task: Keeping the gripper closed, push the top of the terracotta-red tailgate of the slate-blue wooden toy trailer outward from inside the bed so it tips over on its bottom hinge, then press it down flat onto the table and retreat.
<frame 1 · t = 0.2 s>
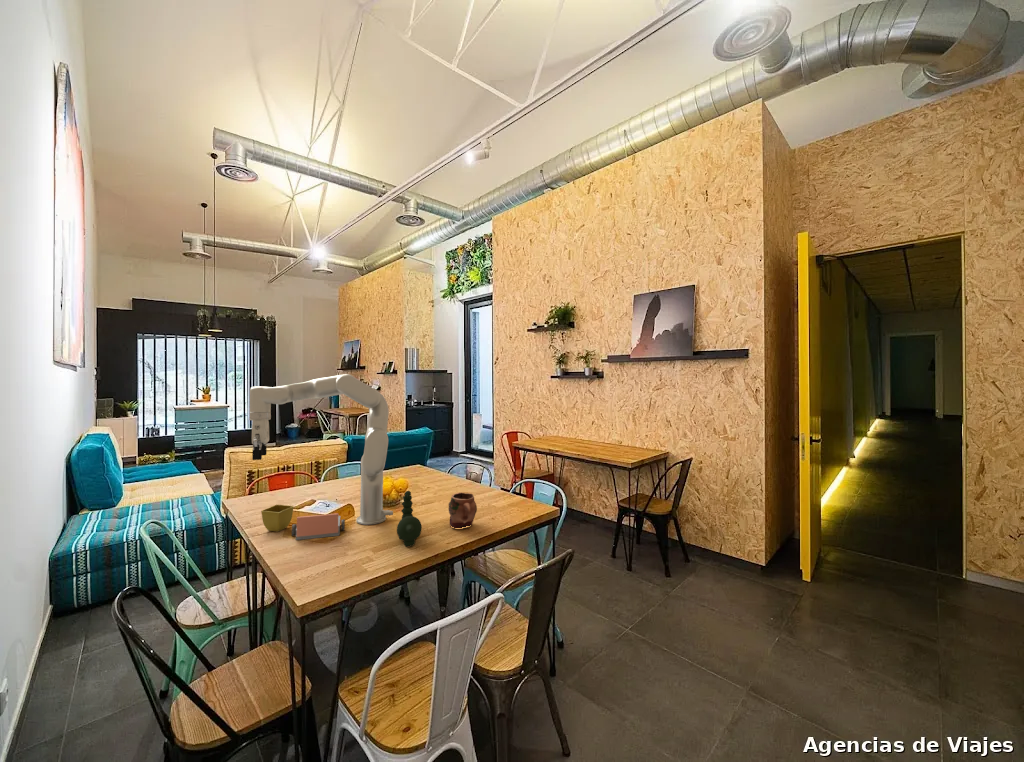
hand: (259, 457, 175), 31 cm above the table, fingers open, 9 cm apart
trailer: (318, 532, 175), on the table
flower pot: (277, 530, 178), on the table
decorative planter: (462, 527, 185), on the table
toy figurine: (408, 540, 170), on the table
tailgate: (317, 525, 169), point 5 cm above the table, hinge at 0.0°
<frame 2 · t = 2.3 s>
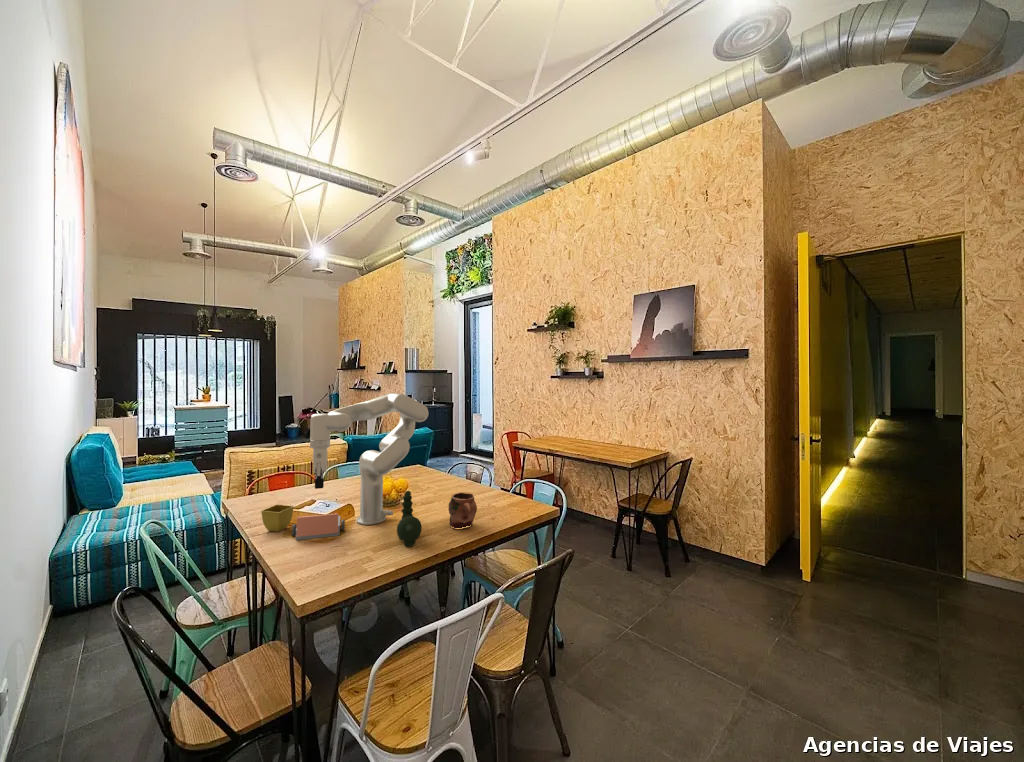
hand: (319, 487, 174), 19 cm above the table, fingers closed
nothing on the table moved.
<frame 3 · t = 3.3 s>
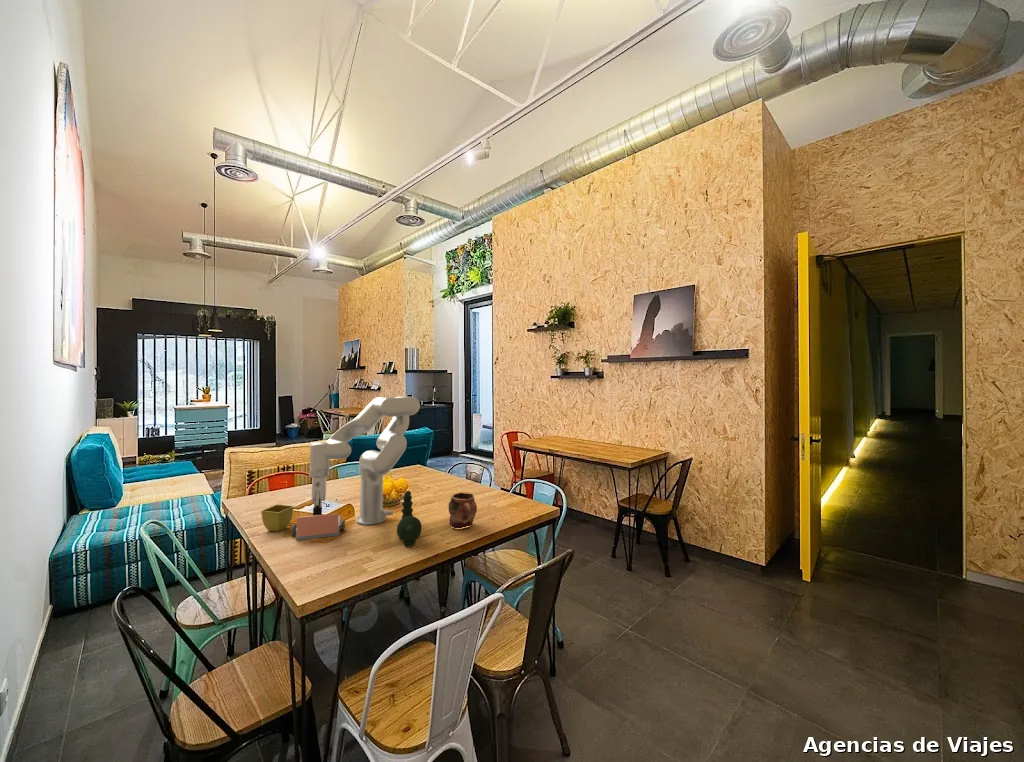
hand: (317, 516, 174), 7 cm above the table, fingers closed
nothing on the table moved.
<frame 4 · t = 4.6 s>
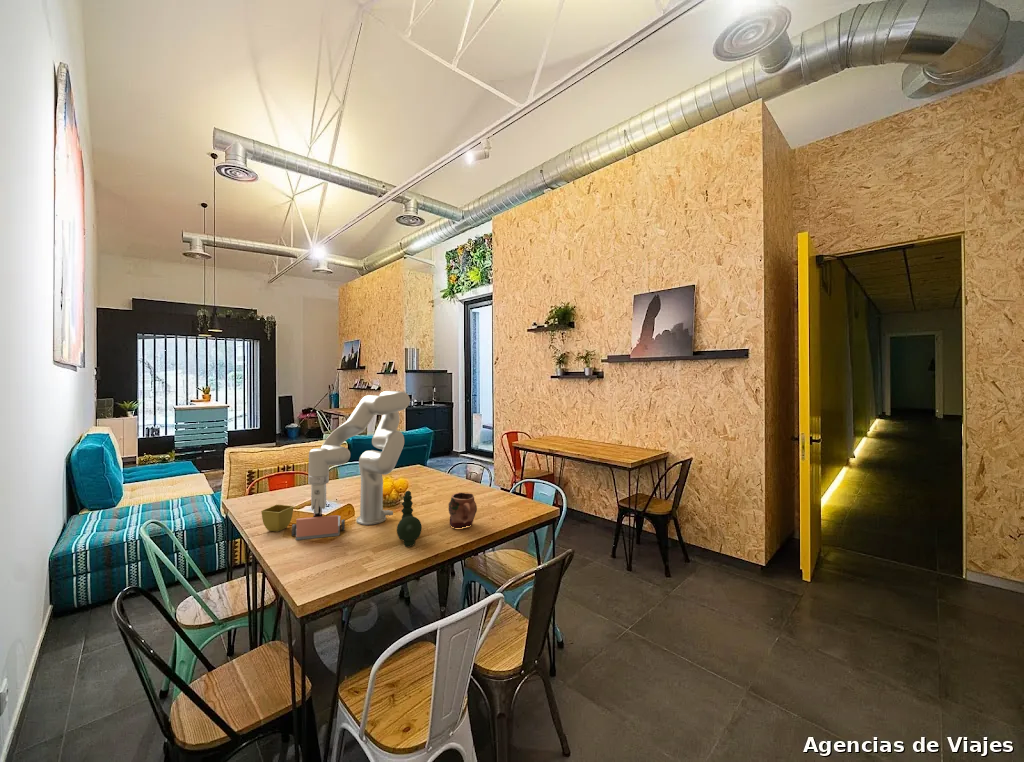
hand: (317, 524, 170), 5 cm above the table, fingers closed
tailgate: (317, 526, 168), point 5 cm above the table, hinge at 13.6°, touching gripper
everything else where it was.
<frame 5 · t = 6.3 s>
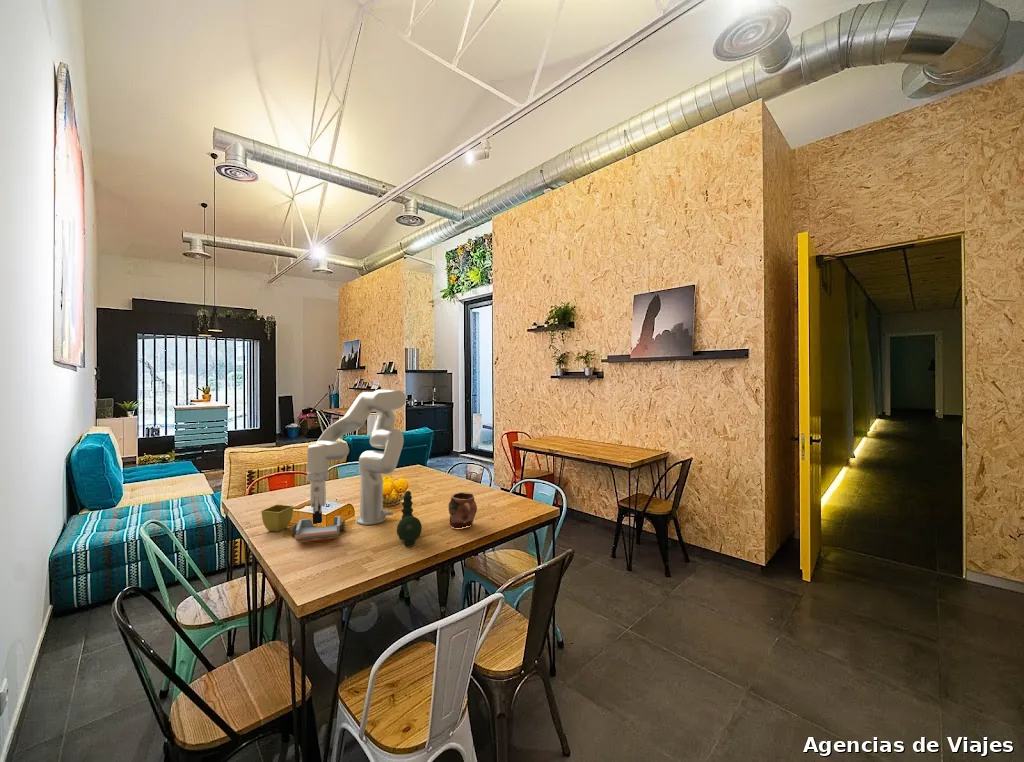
hand: (317, 522, 165), 8 cm above the table, fingers closed
tailgate: (317, 534, 166), point 3 cm above the table, hinge at 68.9°
everything else where it was.
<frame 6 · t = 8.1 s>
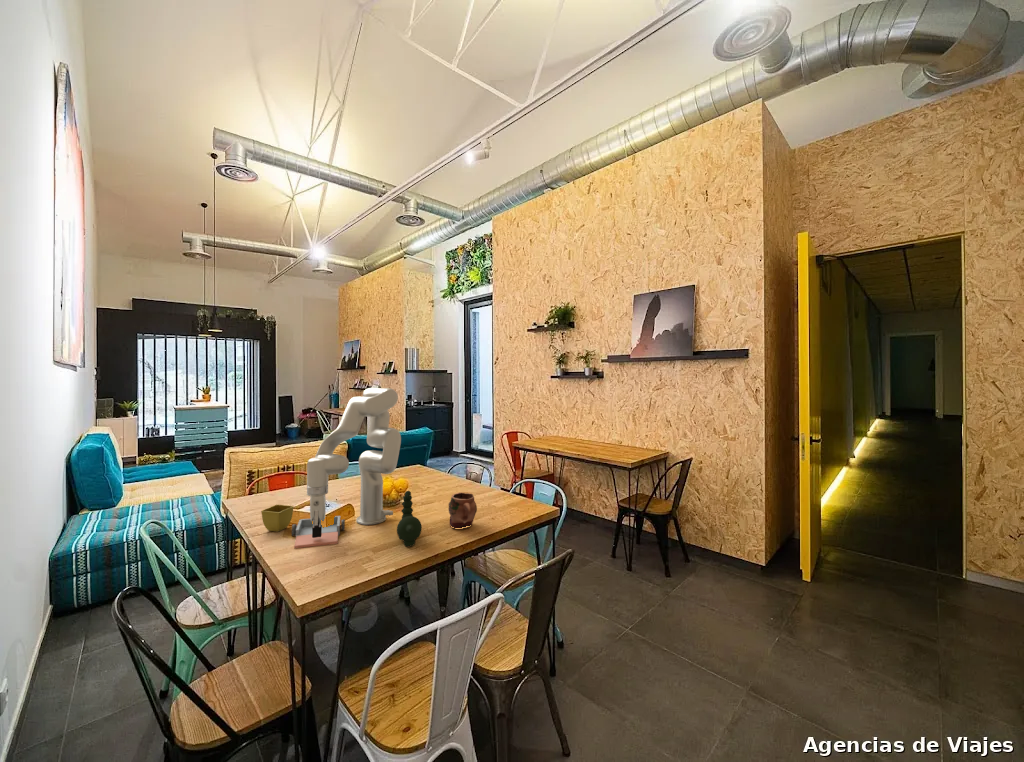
hand: (316, 536, 164), 3 cm above the table, fingers closed
tailgate: (317, 539, 165), point 1 cm above the table, hinge at 98.3°
everything else where it was.
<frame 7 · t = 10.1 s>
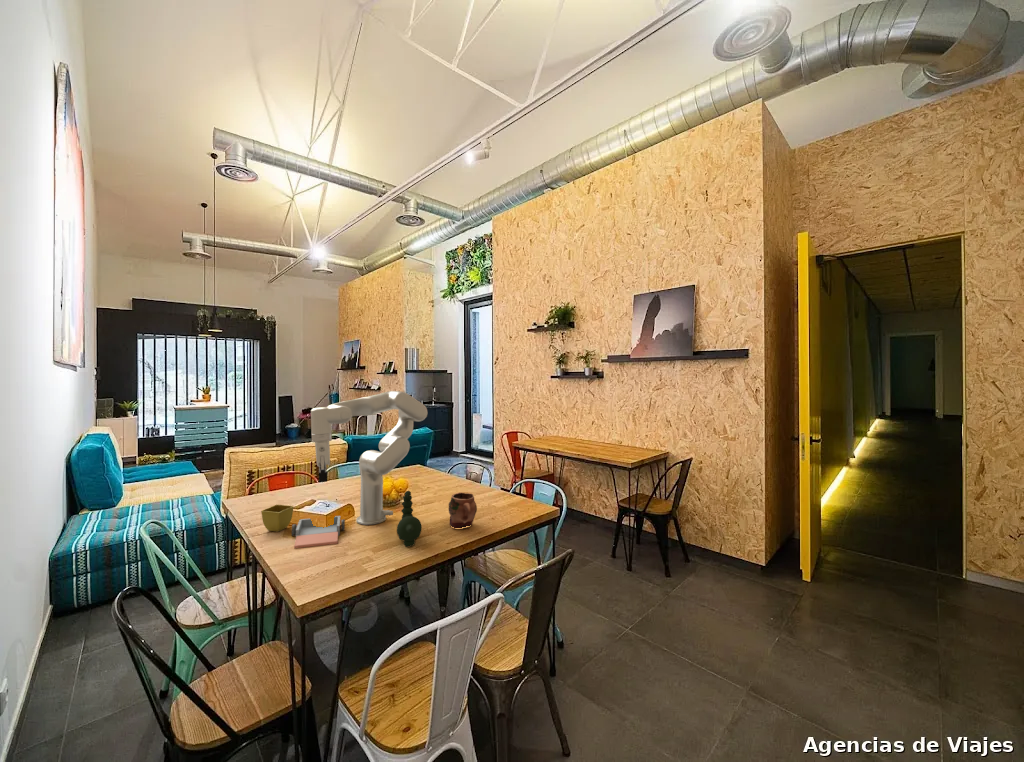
hand: (323, 481, 174), 21 cm above the table, fingers closed
nothing on the table moved.
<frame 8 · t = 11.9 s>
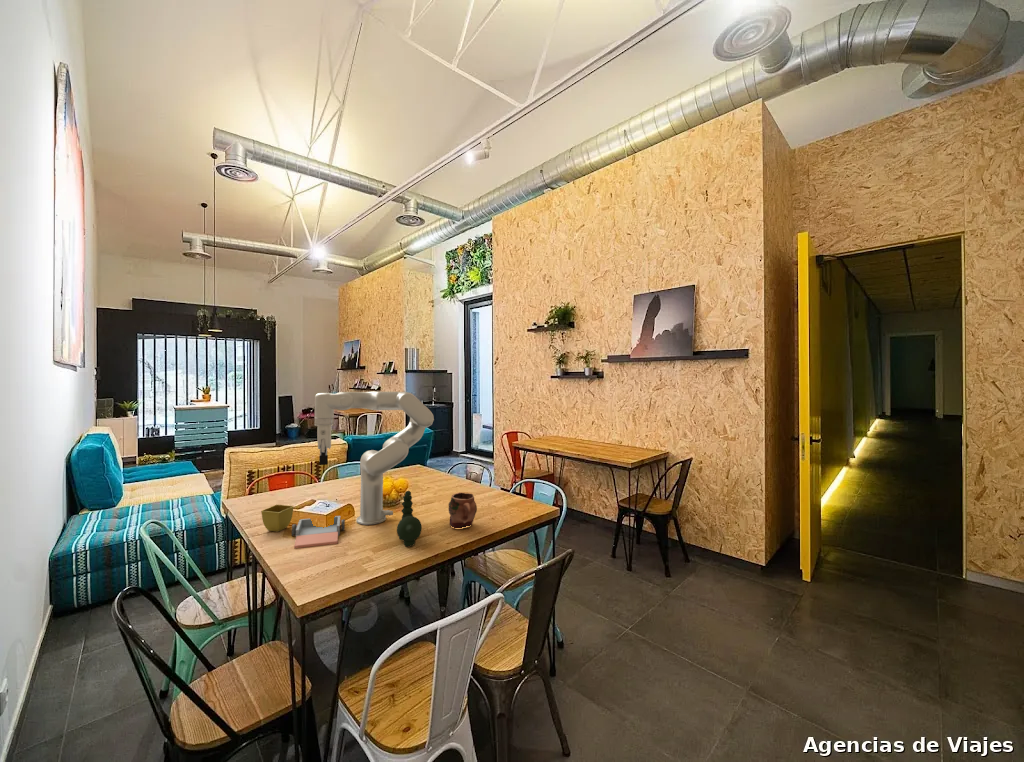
hand: (323, 464, 181), 27 cm above the table, fingers closed
nothing on the table moved.
at the end: tailgate at +98° (first picture: +0°); flower pot moved 0.2 cm from its start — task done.
